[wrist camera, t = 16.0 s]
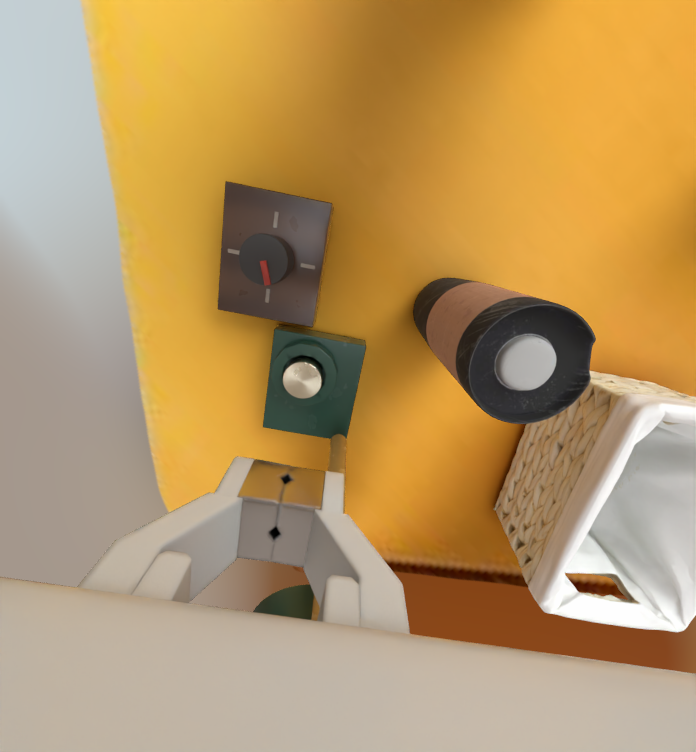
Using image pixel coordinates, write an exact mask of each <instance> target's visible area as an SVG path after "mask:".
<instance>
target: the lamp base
mask: <svg viewBox="0 0 696 752" xmlns="http://www.w3.org/2000/svg"><path fill="white" fill-rule="evenodd" d="M365 350H366V342H365V340H361V339H356V338H351V337H345V336H340V335H335V334H329V333H324V332H319V331H313V330H308V329H303V328H297V327H292V326H287V325H282V324H279V325H278V326H277V327H276V328H275V330H274V338H273V346H272V354H271V363H270V371H269V380H268V388H267V396H266V405H265V413H264V421H263V427H265V428H271V429H277V430H282V431H288V432H294V433H300V434H306V435H312V436H317V437H323V438H329V439H331V438H332V437H333V436H334V435H336V434H341V435H343V436H344V437H345V438H347V434H348V429H349V424H350V420H351V415H352V410H353V406H354V401H355V397H356V392H357V387H358V383H359V378H360V373H361V369H362V364H363V359H364V355H365ZM301 357H306V358H310V359H313V360H314V361H316V362H317V363H318V364H319V365H320V367H321V369H322V372H323V380H322V384H321V388H320V390H319V391H318V392H317V393H316V394H315V395H314V396H312V397H310V398H297V397H294V396H292V395H291V394H290V393H289V392H288V391H287V390H286V389H285V387H284V384H283V375H284V372H285V370H286V368H287V367H288V365H289V364H290V363H291V362H292V361H293V360H295V359H297V358H301Z"/></svg>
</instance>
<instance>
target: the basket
mask: <svg viewBox="0 0 696 752" xmlns="http://www.w3.org/2000/svg"><path fill="white" fill-rule="evenodd" d="M590 376H591V380H590V383H589V385H588V387H587V388H586V390H585V391H584V392H583V394H582V395H581V396H580V397H579V398H578V399H577V400H576V401H575V402H574V403H573V404H572V405H571V406H569V407H568V408H567V409H565V410H564V411H562V412H561V413H559V414H557V415H555V416H553V417H551V418H549V419H546V420H543V421H539V422H535V423H529V424H526V426H525V429H524V434H523V436H522V437H521V439H520V442H519V444H518V447H517V451H516V455H515V456H514V458H513V462H512V464H511V468H510V470H509V473H508V474H507V476H506V479H505V483H504V485H503V488H502V490H501V491H500V494H499V495H500V496H499V498H498V500H497V503H496V505H495V508H494V510H496V513H497V515H498V518H499V520H500V521H501V524H502V526H503V528H504V531H505V533H506V535H507V536H508V539H509V543H510V545H511V547H512V549H513V551H514V552H515V554H516V556H517V558H518V562H519V565H520V567H521V568H522V574H523V576H524V579H525V581H526V583H527V584H528V585H529V586H528V588H529V591H530V592H531V594H532V595H533V597H534V599H535V600H536V601H537V603H538V605H539V606H540V607H541V609H542V610H543V611H544V612H546V613H549V614H556V615H560V616H564V617H568V618H574V619H580V620H586V621H591V622H597V623H603V624H610V625H617V626H624V627H632V628H640V629H654V630H655V629H656V630H667V631H672V632H680V631H683V630H685V629H686V628H687V627H688V625H689V623H690V622H691V620H692V619H693V618H694V616H695V615H696V397H694V396H688V395H687V394H683V393H679V392H677V391H674V390H670V389H668V388H666V387H663V386H659V385H658V384H656V383H652V382H648V381H639V380H636V379H631V378H626V377H620V376H617V375H612V374H605V373H599V372H594V371H590ZM565 573H588V574H594V575H600V576H606V577H608V578H611V579H612V580H613V581H614V582H615V583H616V584H617V585H618V586H617V587H618V589H619V590H620V591H621V592H622V593H623V594H624V596H625V597H626V598H627V599H629V600H625V599H618V598H616V597H614V596H612V595H607V596H604V597H602V596H599V595H596V594H594V595H592V594H590V593H580V592H578V591H577V590H576V588H575V587H574V585H573V584H572V583H571V582H570V581H569V579H568V578H567V577H566V575H565Z"/></svg>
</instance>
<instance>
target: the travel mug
mask: <svg viewBox="0 0 696 752" xmlns="http://www.w3.org/2000/svg"><path fill="white" fill-rule="evenodd" d="M413 316H414V321H415V324H416V326H417V328H418V330H419V332H420V333H421V335H422V336H423V338H424V339H425V341H426V342H427V344H428V345H429V347H430V348H431V350H432V351H433V353H434V354H435V355H436V356H437V358H438V359H439V360H440V361H441V362H442V364H443V365H444V366H445V367H446V368H447V370H448V371H449V372H450V373H451V374H452V375H453V377H454V378H455V379H456V380H457V381H458V383H459V384H460V385H461V386H462V387H463V388H464V390H465V391H466V392H467V393H468V394H469V396H470V397H471V398H472V399H473V400H474V402H475V403H476V404H477V405H478V406H479V407H480V408H481V409H482V410H483V411H484V412H486V413H487V414H489V415H490V416H492V417H494V418H496V419H498V420H501V421H504V422H509V423H515V424H529V423H535V422H539V421H543V420H546V419H549V418H551V417H553V416H555V415H557V414H559V413H561V412H562V411H564V410H565V409H567V408H568V407H569V406H571V405H572V404H573V403H574V402H575V401H576V400H577V399H578V398H579V397H580V396H581V395H582V394H583V392H584V391H585V390H586V388H587V387H588V385H589V383H590V380H591V376H590V371H589V369H590V358H591V350H592V345H593V343H594V342H595V341H596V338H595V335H594V333H593V331H592V329H591V328H590V326H589V325H588V323H587V322H586V321H585V320H584V319H583V318H582V317H581V316H580V315H578V314H577V313H576V312H574V311H573V310H571V309H569V308H567V307H565V306H562V305H559V304H556V303H553V302H549V301H546V300H542V299H539V298H535V297H532V296H528V295H525V294H521V293H518V292H514V291H511V290H507V289H503V288H500V287H496V286H493V285H489V284H486V283H481V282H475V281H469V280H463V279H456V278H442V279H438V280H435V281H433V282H431V283H430V284H428V285H427V286H426V287H425V288H424V289H423V290H422V291H421V292H420V293H419V295H418V297H417V299H416V301H415V304H414V310H413Z"/></svg>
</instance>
